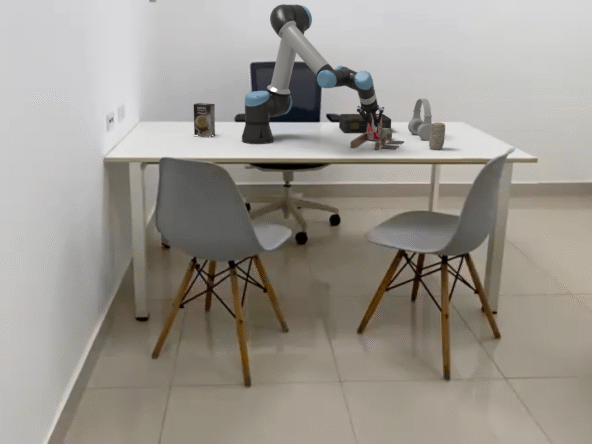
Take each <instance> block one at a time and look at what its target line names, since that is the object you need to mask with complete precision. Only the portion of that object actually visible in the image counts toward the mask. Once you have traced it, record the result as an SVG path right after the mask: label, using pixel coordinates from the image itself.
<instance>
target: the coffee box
mask: <svg viewBox="0 0 592 444" xmlns="http://www.w3.org/2000/svg"><path fill="white" fill-rule="evenodd" d="M215 111H216V110H215V103H206V102H205V103H204V102H203V103H202V102H200V103H199V102H197V103H193V131H194V132H193V133H194V134H193V135H198V136H212V135H215V136H216V126H215V125H216V124H215V120H216V118H215V117H216V116H215V113H216V112H215Z"/></svg>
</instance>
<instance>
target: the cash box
mask: <svg viewBox="0 0 592 444" xmlns="http://www.w3.org/2000/svg"><path fill="white" fill-rule="evenodd" d="M371 115H372V114H371ZM376 115H379V113H376ZM381 118H382V128H387V129H392V119H391V118H390V117H389V116H387V115H385V114H384V113H382V116H381ZM338 121H339V123H338V126H339V127H338V128H339V129H340V130H341V131H342V132H343V134H363V133H365V132H366V131H367V126H368V122H367V123H365V121H364V120H363V118H362V117H361V115H360V113H341V114H339V120H338Z"/></svg>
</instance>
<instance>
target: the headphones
mask: <svg viewBox="0 0 592 444" xmlns="http://www.w3.org/2000/svg"><path fill="white" fill-rule="evenodd" d="M422 105H423V106H422ZM422 107H423V111H424V115H423V120H422V118H421V113H422V110H421V109H422ZM412 112H413V115H412V118H411V120H410V121H409V122H408V124H407V128H408V131H409V132H410V133H411V134H412V135H415V136H418V137H419V138H420V139H421V140H423V141H429V137H430V132H431V125H432V123H433V122H432V116H433V115H432V110H431V104H430V102H429V100H428V99H427V98H418V99H417V100H416V102H415V104H414V109H413V111H412Z"/></svg>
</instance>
